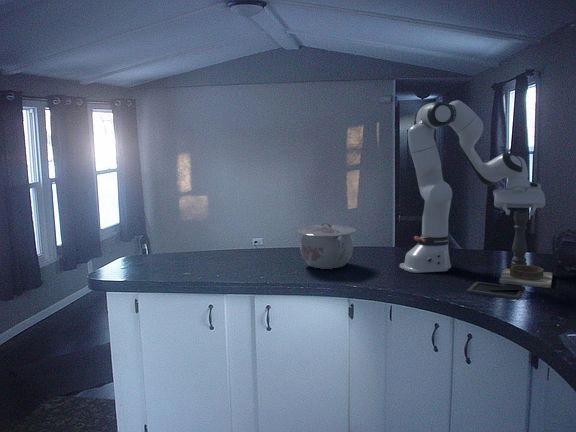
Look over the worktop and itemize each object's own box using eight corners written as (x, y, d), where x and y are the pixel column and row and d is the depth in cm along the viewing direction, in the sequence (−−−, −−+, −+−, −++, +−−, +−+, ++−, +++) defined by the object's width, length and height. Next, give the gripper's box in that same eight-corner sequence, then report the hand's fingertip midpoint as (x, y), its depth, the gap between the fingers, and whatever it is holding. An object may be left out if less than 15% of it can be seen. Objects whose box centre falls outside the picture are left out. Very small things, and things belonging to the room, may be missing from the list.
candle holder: (528, 272, 224) (530, 213, 220) (512, 271, 225) (514, 213, 221) (524, 268, 230) (527, 211, 226) (509, 268, 231) (511, 211, 227)
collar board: (550, 288, 201) (551, 276, 200) (499, 283, 209) (499, 271, 209) (552, 276, 217) (552, 265, 216) (504, 272, 225) (505, 261, 224)
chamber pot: (307, 257, 261) (306, 216, 258) (362, 260, 252) (362, 217, 249) (288, 272, 235) (287, 225, 232) (349, 276, 226) (348, 227, 223)
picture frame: (525, 291, 199) (476, 285, 209) (525, 286, 199) (476, 280, 209) (518, 301, 188) (466, 294, 198) (518, 296, 188) (466, 289, 198)
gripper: (493, 184, 234) (494, 209, 227) (544, 184, 228) (547, 210, 221) (492, 193, 239) (493, 218, 231) (542, 193, 233) (545, 219, 226)
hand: (520, 214), depth 226 cm, fingers open, 8 cm apart
